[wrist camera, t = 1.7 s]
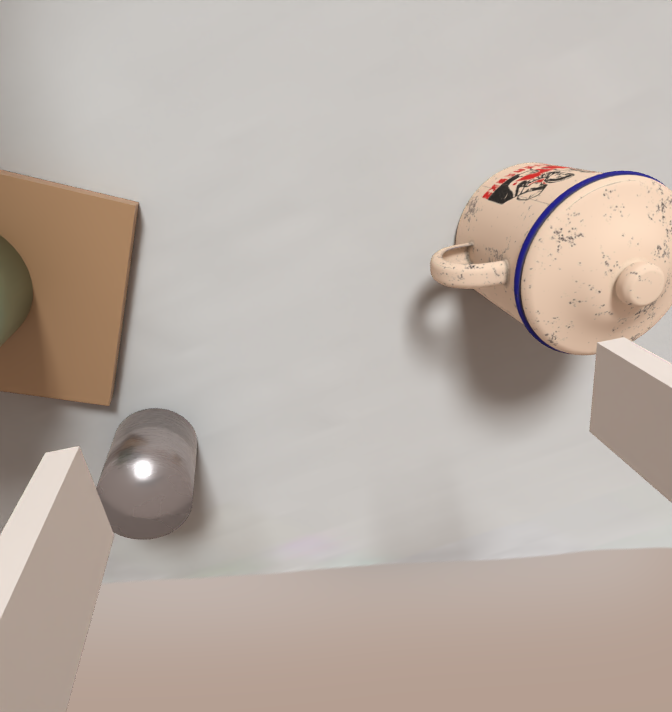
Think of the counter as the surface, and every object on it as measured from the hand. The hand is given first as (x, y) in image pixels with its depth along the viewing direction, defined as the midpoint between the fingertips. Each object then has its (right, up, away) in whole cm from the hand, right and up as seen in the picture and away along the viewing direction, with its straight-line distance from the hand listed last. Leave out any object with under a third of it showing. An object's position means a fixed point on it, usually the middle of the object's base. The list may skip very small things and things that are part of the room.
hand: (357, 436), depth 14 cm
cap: (-12, -4, +22) cm, 25 cm away
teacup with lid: (+9, +10, +20) cm, 24 cm away
